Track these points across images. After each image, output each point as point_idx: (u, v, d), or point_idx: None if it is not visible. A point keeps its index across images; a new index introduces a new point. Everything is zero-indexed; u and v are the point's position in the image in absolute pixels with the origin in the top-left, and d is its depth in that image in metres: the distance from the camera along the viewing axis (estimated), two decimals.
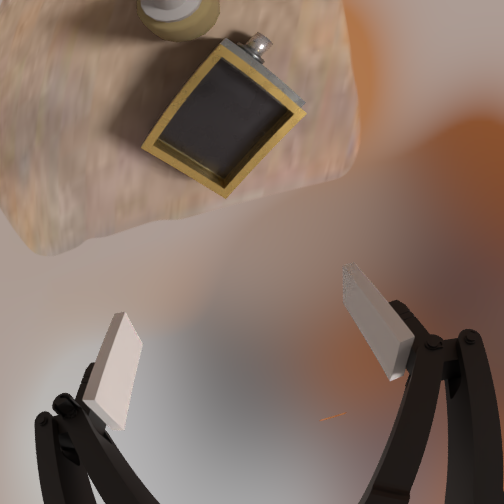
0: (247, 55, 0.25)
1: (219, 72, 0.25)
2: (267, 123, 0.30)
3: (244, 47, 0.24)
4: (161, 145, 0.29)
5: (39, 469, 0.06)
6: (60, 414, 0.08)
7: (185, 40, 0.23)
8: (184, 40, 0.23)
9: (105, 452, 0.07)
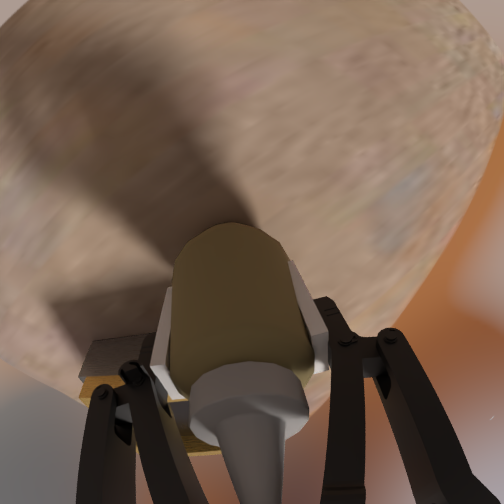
0: None
1: None
2: None
3: None
4: None
5: (83, 444, 0.07)
6: (125, 380, 0.10)
7: None
8: None
9: (164, 429, 0.08)
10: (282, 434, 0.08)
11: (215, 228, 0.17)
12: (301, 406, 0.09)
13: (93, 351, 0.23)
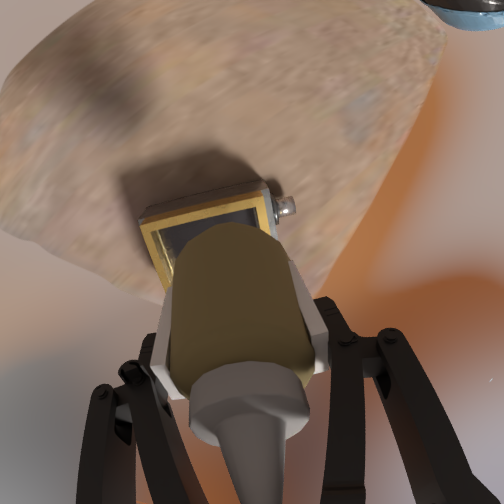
0: (271, 214, 0.33)
1: (241, 212, 0.33)
2: None
3: (274, 204, 0.34)
4: (155, 234, 0.32)
5: (83, 444, 0.07)
6: (125, 380, 0.10)
7: None
8: None
9: (164, 429, 0.08)
10: (283, 434, 0.08)
11: (215, 228, 0.17)
12: (302, 406, 0.09)
13: (149, 209, 0.35)
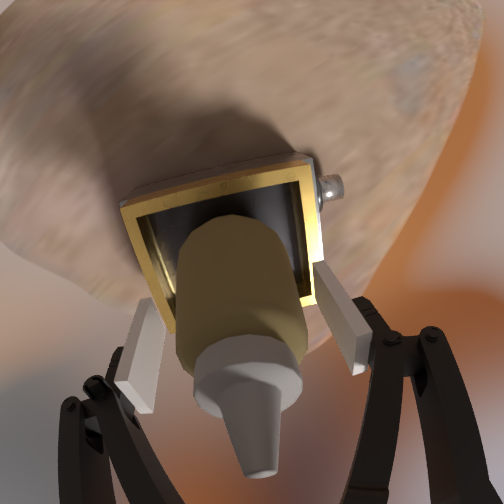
0: (315, 195, 0.23)
1: (273, 191, 0.22)
2: None
3: (317, 183, 0.23)
4: (143, 223, 0.21)
5: (59, 455, 0.07)
6: (90, 396, 0.09)
7: None
8: None
9: (132, 439, 0.08)
10: (278, 401, 0.10)
11: (217, 219, 0.18)
12: (295, 375, 0.10)
13: (136, 190, 0.24)
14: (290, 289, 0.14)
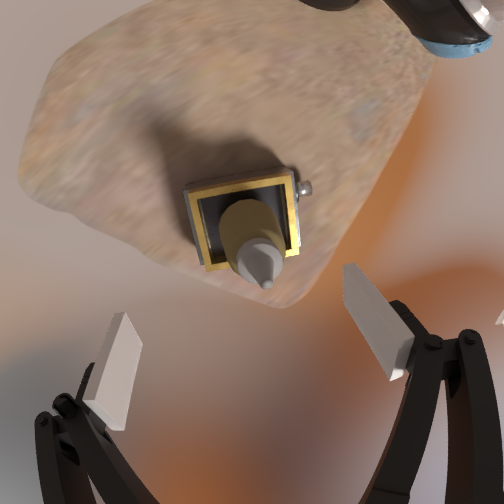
0: (294, 192, 0.41)
1: (271, 189, 0.40)
2: None
3: (296, 185, 0.41)
4: (198, 203, 0.38)
5: (39, 469, 0.06)
6: (60, 414, 0.08)
7: None
8: None
9: (105, 452, 0.07)
10: (272, 263, 0.28)
11: (242, 200, 0.36)
12: (279, 254, 0.28)
13: (189, 185, 0.42)
14: (278, 227, 0.32)
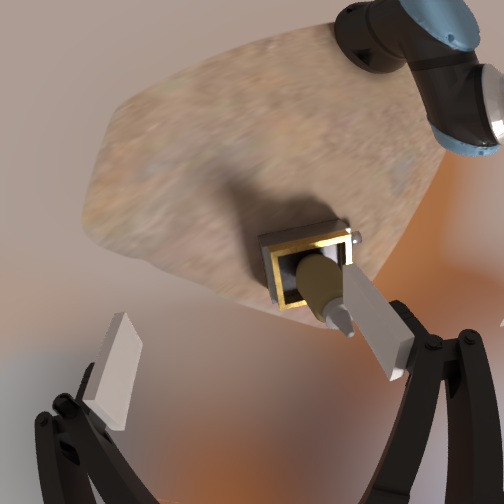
0: None
1: (332, 243, 0.48)
2: None
3: None
4: None
5: (39, 469, 0.06)
6: (60, 414, 0.08)
7: None
8: None
9: (105, 452, 0.07)
10: (350, 316, 0.36)
11: (315, 258, 0.45)
12: None
13: (263, 238, 0.51)
14: None
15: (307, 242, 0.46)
